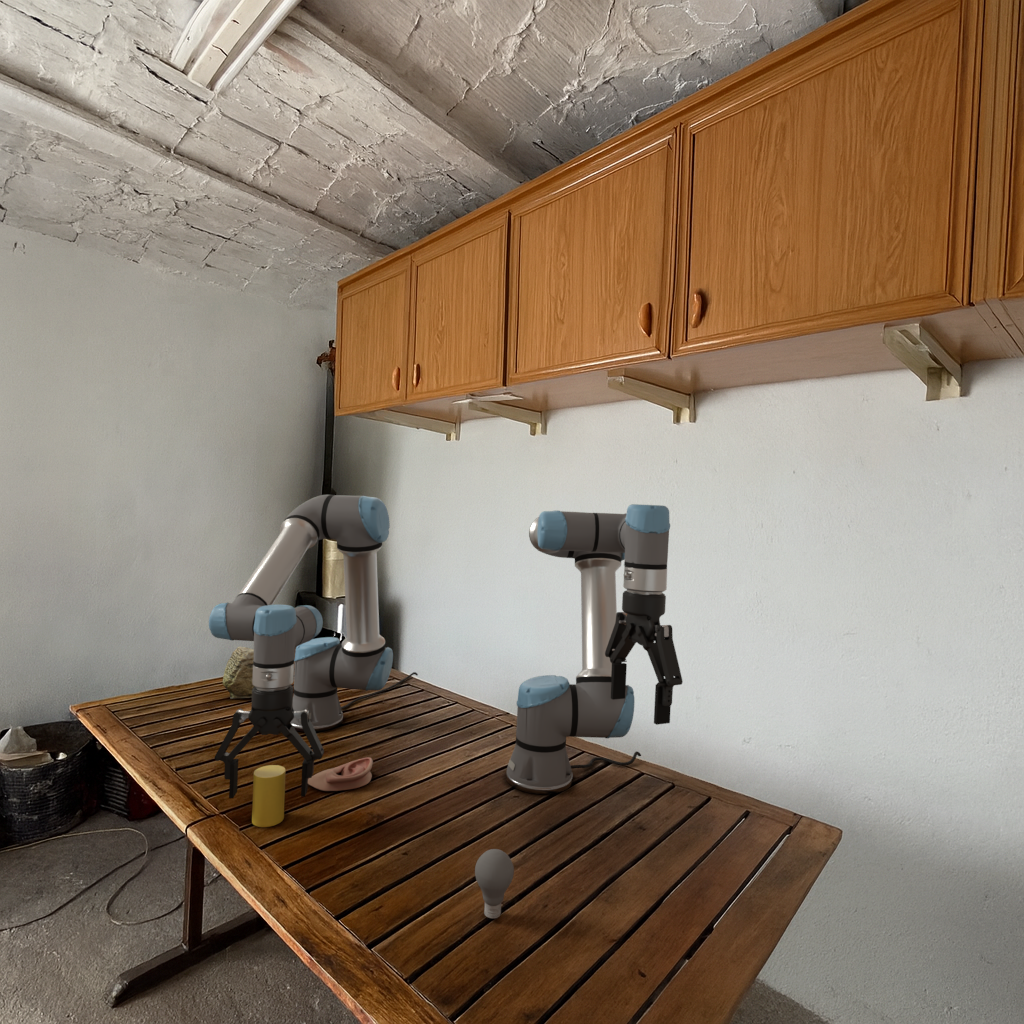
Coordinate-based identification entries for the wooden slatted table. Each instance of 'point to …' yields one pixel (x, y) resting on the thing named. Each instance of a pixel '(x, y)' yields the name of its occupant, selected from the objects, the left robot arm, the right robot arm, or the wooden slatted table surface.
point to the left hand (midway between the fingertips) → (268, 794)
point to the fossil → (239, 673)
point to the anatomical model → (343, 776)
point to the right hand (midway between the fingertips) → (638, 710)
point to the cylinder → (268, 795)
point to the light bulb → (494, 879)
